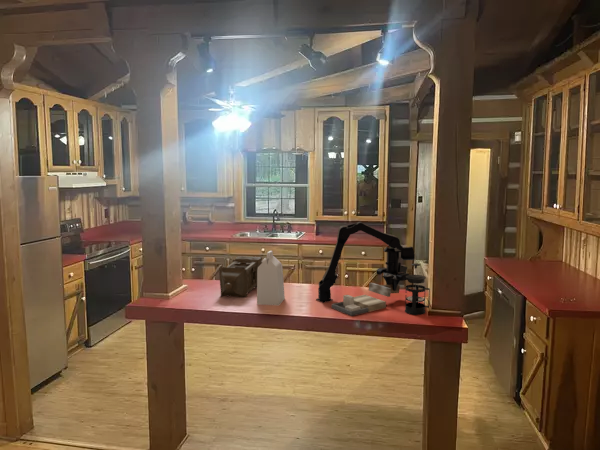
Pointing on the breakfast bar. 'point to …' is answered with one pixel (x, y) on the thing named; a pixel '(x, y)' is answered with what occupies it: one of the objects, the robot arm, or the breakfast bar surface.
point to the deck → (369, 302)
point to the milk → (270, 281)
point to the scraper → (383, 289)
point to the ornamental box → (239, 276)
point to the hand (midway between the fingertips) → (392, 290)
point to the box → (341, 308)
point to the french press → (416, 294)
